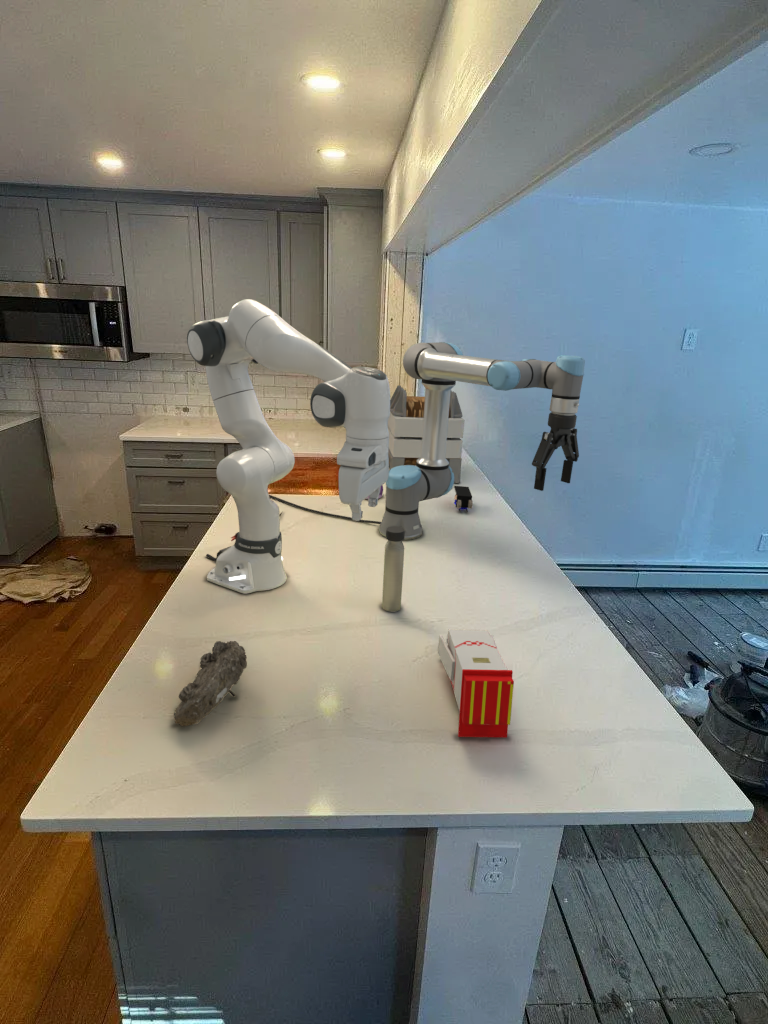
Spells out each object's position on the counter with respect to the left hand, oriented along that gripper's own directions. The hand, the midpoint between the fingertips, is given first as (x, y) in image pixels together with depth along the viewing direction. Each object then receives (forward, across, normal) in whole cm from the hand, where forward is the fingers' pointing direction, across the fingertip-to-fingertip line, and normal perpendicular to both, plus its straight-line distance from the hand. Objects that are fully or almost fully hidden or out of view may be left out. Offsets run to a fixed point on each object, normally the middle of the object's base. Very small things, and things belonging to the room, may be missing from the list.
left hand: (365, 512), depth 121 cm
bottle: (+34, -21, 0) cm, 40 cm away
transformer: (+33, -150, -28) cm, 157 cm away
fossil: (+34, +27, -21) cm, 48 cm away
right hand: (+6, -60, +36) cm, 70 cm away
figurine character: (+33, -108, +1) cm, 113 cm away
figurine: (+33, -106, -36) cm, 117 cm away
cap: (+12, -21, 0) cm, 24 cm away
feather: (+33, -70, -59) cm, 97 cm away
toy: (+34, +6, +27) cm, 44 cm away
